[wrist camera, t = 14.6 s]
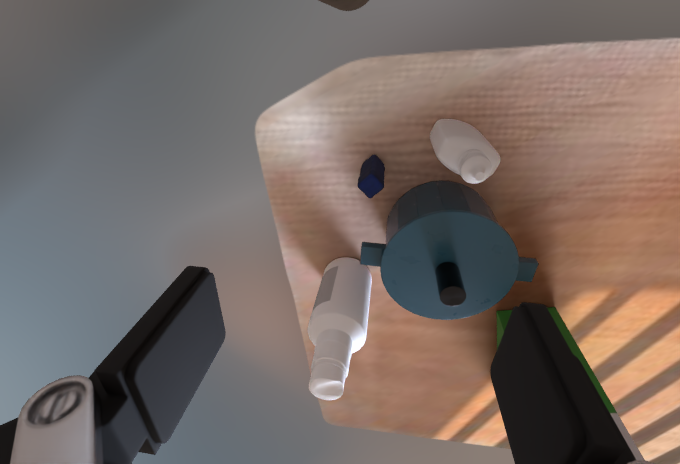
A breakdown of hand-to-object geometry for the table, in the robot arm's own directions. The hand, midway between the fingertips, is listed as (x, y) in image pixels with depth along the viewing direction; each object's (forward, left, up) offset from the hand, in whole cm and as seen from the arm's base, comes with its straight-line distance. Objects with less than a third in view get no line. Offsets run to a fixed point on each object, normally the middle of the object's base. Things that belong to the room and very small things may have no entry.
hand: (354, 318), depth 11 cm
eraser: (+5, -1, -31) cm, 31 cm away
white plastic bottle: (+22, -3, -31) cm, 38 cm away
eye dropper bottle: (+2, +8, -31) cm, 32 cm away
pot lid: (+13, +8, -22) cm, 27 cm away
